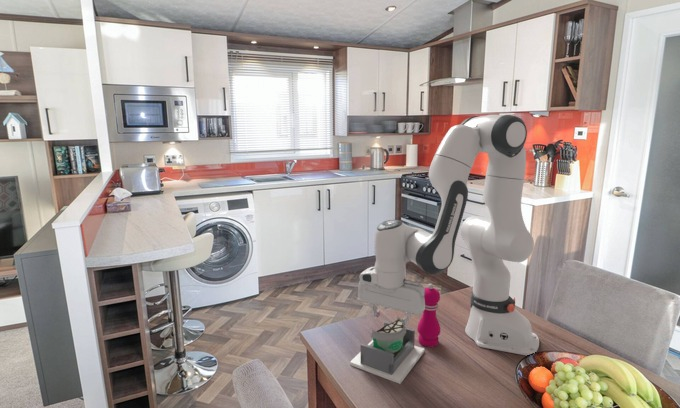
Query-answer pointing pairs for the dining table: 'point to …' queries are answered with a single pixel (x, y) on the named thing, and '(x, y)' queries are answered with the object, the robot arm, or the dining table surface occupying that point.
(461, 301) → the dining table surface
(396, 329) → the food container
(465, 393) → the dining table surface
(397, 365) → the slot stand
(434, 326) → the pepper mill
